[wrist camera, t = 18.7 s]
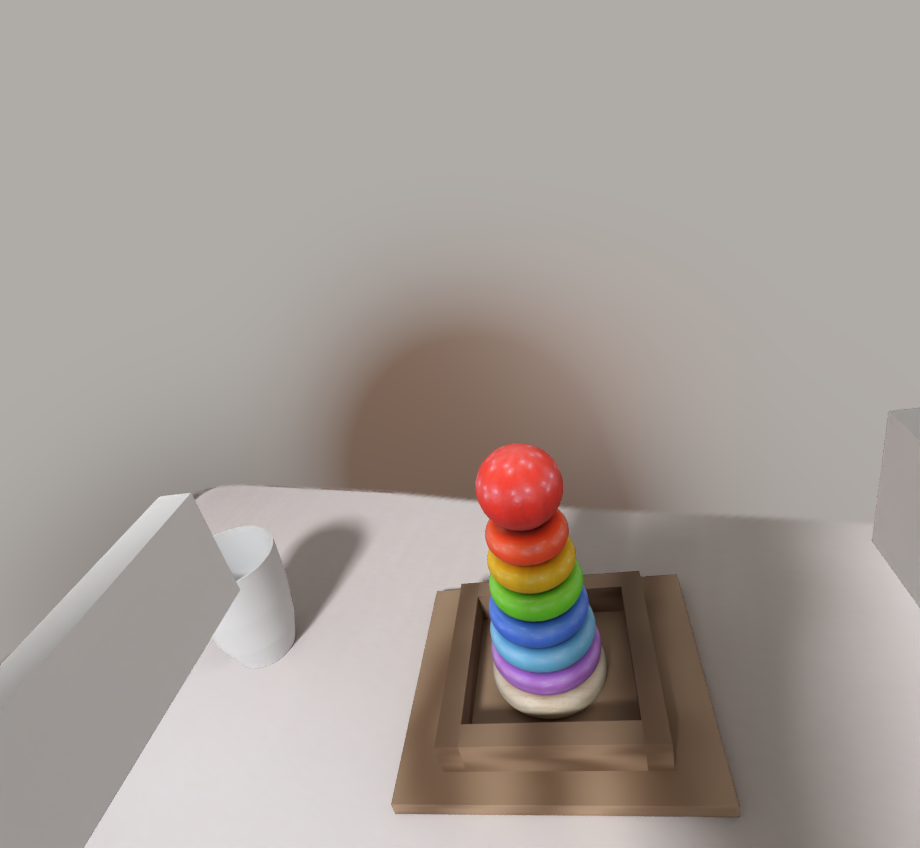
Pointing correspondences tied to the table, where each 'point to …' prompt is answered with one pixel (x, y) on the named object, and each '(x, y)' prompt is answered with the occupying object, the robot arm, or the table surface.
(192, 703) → the table surface
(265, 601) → the cup
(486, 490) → the stacking toy
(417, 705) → the walnut jig
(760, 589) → the table surface
